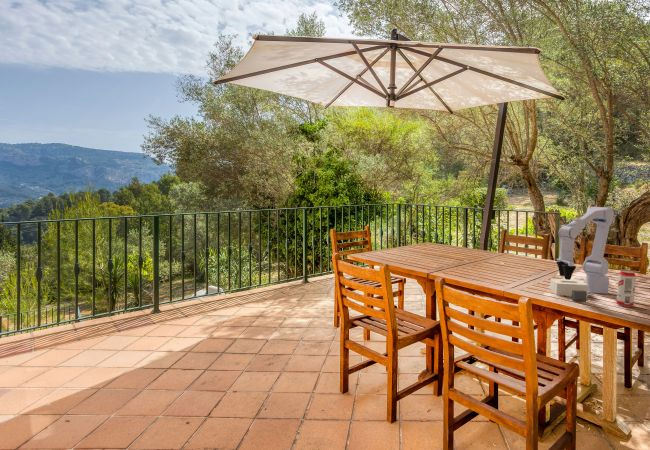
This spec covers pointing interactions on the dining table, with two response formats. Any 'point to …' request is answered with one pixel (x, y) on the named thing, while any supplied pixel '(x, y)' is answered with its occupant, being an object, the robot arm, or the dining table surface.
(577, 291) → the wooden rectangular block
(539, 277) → the dining table surface
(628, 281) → the beer can
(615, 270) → the dining table surface
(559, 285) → the box
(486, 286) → the dining table surface
